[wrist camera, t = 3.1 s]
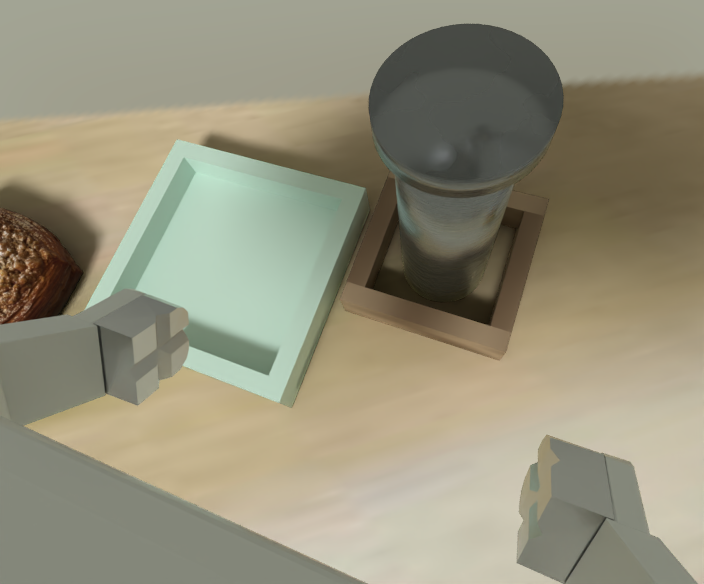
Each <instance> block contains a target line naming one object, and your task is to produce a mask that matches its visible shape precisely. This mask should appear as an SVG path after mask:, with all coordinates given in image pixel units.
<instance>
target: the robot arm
mask: <svg viewBox="0 0 704 584" xmlns="http://www.w3.org/2000/svg"><path fill="white" fill-rule="evenodd" d="M188 325H189V319H188V312H187V311H186V310H185V309H184V308H183V307H181V306H178V305H176V304H173V303H170V302H168V301H165V300H162V299H160V298H157V297H154V296H152V295H148V294H146V293H143V292H140V291H137V290H135V289H123V290H121V291H119V292H117V293H116V294H114V295H112V296H110V297H108V298H106V299H104V300H102V301H101V302H99V303H97V304H95V305H93V306H91V307H89V308H87V309H86V310H84V311H82V312H80V313H78V314H76V315H74V316H70V315H61V316H54V317H48V318H41V319H35V320H28V321H22V322H15V323H9V324H2V325H0V584H367V583H365V582H363V581H361V580H359V579H356V578H354V577H352V576H350V575H348V574H345V573H343V572H341V571H339V570H337V569H335V568H332V567H330V566H328V565H326V564H324V563H321V562H319V561H317V560H315V559H313V558H310V557H308V556H306V555H304V554H302V553H300V552H297V551H295V550H293V549H291V548H289V547H286V546H284V545H282V544H280V543H278V542H276V541H273V540H271V539H269V538H267V537H265V536H262V535H260V534H258V533H256V532H254V531H251V530H249V529H247V528H245V527H243V526H241V525H238V524H236V523H234V522H232V521H230V520H227V519H225V518H223V517H221V516H219V515H217V514H214V513H212V512H210V511H208V510H206V509H203V508H201V507H199V506H197V505H195V504H192V503H190V502H188V501H186V500H184V499H182V498H179V497H177V496H175V495H173V494H171V493H168V492H166V491H164V490H162V489H160V488H158V487H155V486H153V485H151V484H149V483H147V482H144V481H142V480H140V479H138V478H136V477H133V476H131V475H129V474H127V473H125V472H123V471H120V470H118V469H116V468H114V467H112V466H109V465H107V464H105V463H103V462H101V461H98V460H96V459H94V458H92V457H90V456H88V455H85V454H83V453H81V452H79V451H77V450H74V449H72V448H70V447H68V446H66V445H63V444H61V443H59V442H57V441H55V440H53V439H50V438H48V437H46V436H44V435H42V434H39V433H37V432H35V431H33V430H31V429H29V428H26V427H24V425H27V424H29V423H32V422H35V421H37V420H40V419H43V418H46V417H48V416H51V415H54V414H56V413H59V412H62V411H64V410H67V409H70V408H73V407H75V406H78V405H81V404H83V403H86V402H89V401H91V400H94V399H97V398H100V397H102V396H105V395H106V394H109V395H111V396H114V397H117V398H119V399H122V400H124V401H127V402H130V403H132V404H135V405H139V404H140V403H142V402H143V401H144V400H145V399H146V398H147V397H149V396H150V395H151V394H152V393H153V392H155V391H156V390H157V389H158V388H159V381H160V380H162V379H166V378H169V377H172V376H173V375H174V374H176V373H177V372H178V371H179V370H180V369H181V367H182V365H183V364H184V362H185V360H186V359H187V355H188V351H189V339H188V338H187V336H186V334H185V332H184V329H185V328H186V327H187V326H188ZM105 393H106V394H105ZM519 513H520V515H521V517H522V518H523V522H522V524H521V526H520V528H519V531H518V541H517V563H518V564H520V565H523V566H525V567H527V568H529V569H532V570H534V571H536V572H538V573H541V574H543V575H545V576H547V577H550V578H552V579H554V580H556V581H559V582H561V583H563V584H697V582H696V581H695V580H694V579H693V578H692V576H691V575H690V574H689V573H688V572H687V571H686V569H685V568H684V567H683V566H682V565H681V563H680V562H679V561H678V560H677V559H676V558H675V556H674V555H673V554H672V553H671V552H670V551H669V549H668V548H667V547H666V546H665V545H664V543H663V542H662V541H661V540H660V539H659V538H658V537H655V536H652V535H650V533H649V529H648V524H647V520H646V516H645V512H644V508H643V503H642V499H641V495H640V491H639V486H638V482H637V478H636V474H635V470H634V466H633V465H632V464H631V462H629V461H626V460H623V459H620V458H617V457H614V456H611V455H608V454H604V453H599V452H596V451H593V450H590V449H587V448H584V447H581V446H578V445H575V444H573V443H570V442H567V441H564V440H561V439H558V438H555V437H552V436H549V435H546V436H545V438H544V439H543V440H542V442H541V444H540V446H539V448H538V462H537V463H535V464H532V465H530V468H529V470H528V472H527V475H526V477H525V480H524V483H523V487H522V490H521V496H520V503H519Z"/></svg>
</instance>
